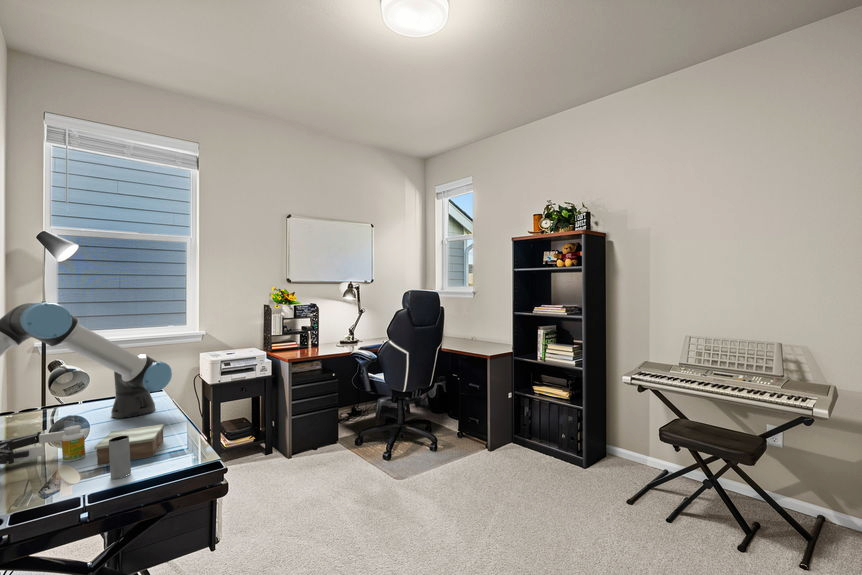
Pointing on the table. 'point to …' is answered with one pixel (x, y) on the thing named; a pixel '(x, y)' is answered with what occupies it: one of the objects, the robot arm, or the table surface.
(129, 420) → the table surface
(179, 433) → the table surface
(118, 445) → the grey hollow cylinder
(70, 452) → the supplement bottle
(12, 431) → the table surface
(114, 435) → the podium
